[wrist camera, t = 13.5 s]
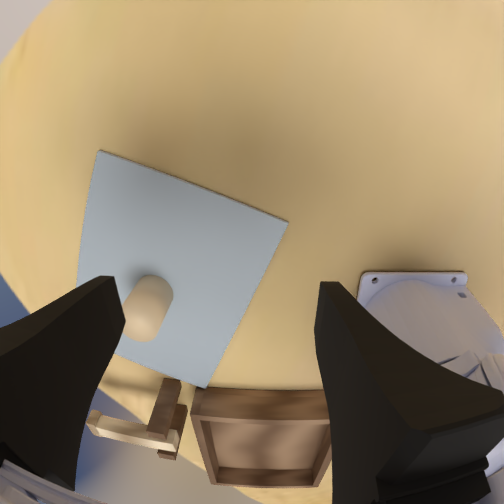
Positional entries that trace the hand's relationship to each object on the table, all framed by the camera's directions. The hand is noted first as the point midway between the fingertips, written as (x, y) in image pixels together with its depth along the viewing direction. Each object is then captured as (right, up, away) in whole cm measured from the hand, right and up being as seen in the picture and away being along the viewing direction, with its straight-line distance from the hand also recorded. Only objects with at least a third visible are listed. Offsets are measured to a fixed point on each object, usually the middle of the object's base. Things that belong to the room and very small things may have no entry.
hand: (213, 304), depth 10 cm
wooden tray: (+2, -19, +21) cm, 28 cm away
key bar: (-10, -15, +14) cm, 23 cm away
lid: (-6, -1, +13) cm, 14 cm away
